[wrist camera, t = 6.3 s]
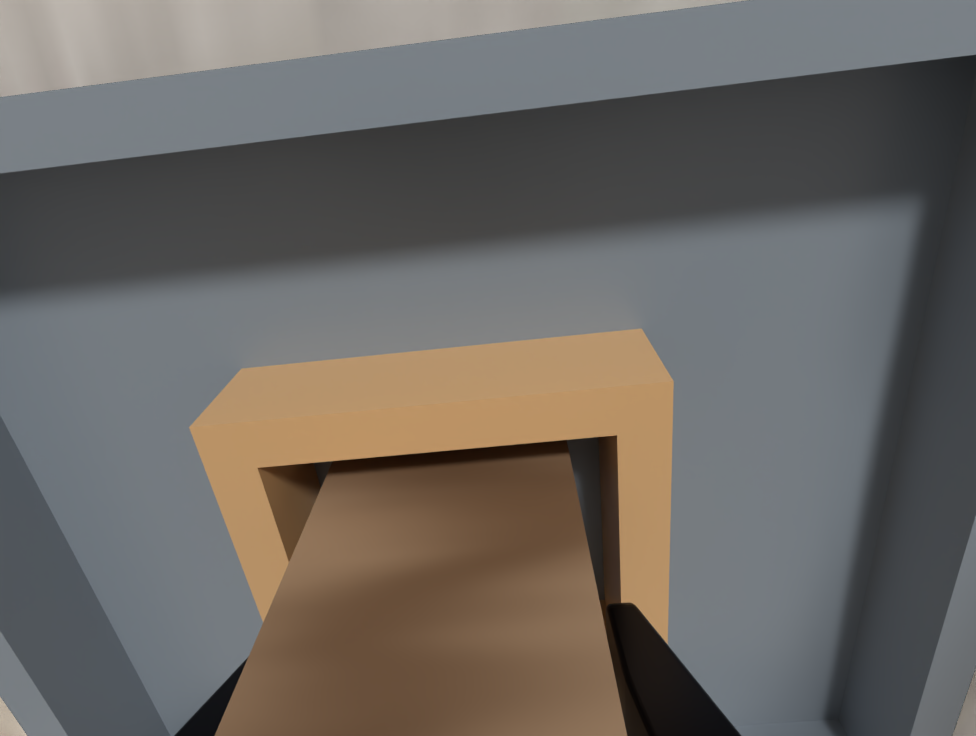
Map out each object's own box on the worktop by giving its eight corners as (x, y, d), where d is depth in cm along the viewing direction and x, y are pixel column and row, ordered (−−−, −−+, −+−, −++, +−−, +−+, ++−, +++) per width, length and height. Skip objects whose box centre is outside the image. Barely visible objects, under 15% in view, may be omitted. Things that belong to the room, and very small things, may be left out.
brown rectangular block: (561, 411, 11) (654, 869, 5) (571, 577, 13) (650, 1077, 6) (345, 431, 11) (147, 892, 5) (384, 591, 13) (276, 1088, 6)
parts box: (1001, -17, 9) (1227, -62, 6) (846, 700, 16) (920, 829, 13) (-139, 129, 10) (-381, 146, 7) (182, 743, 17) (121, 871, 14)
